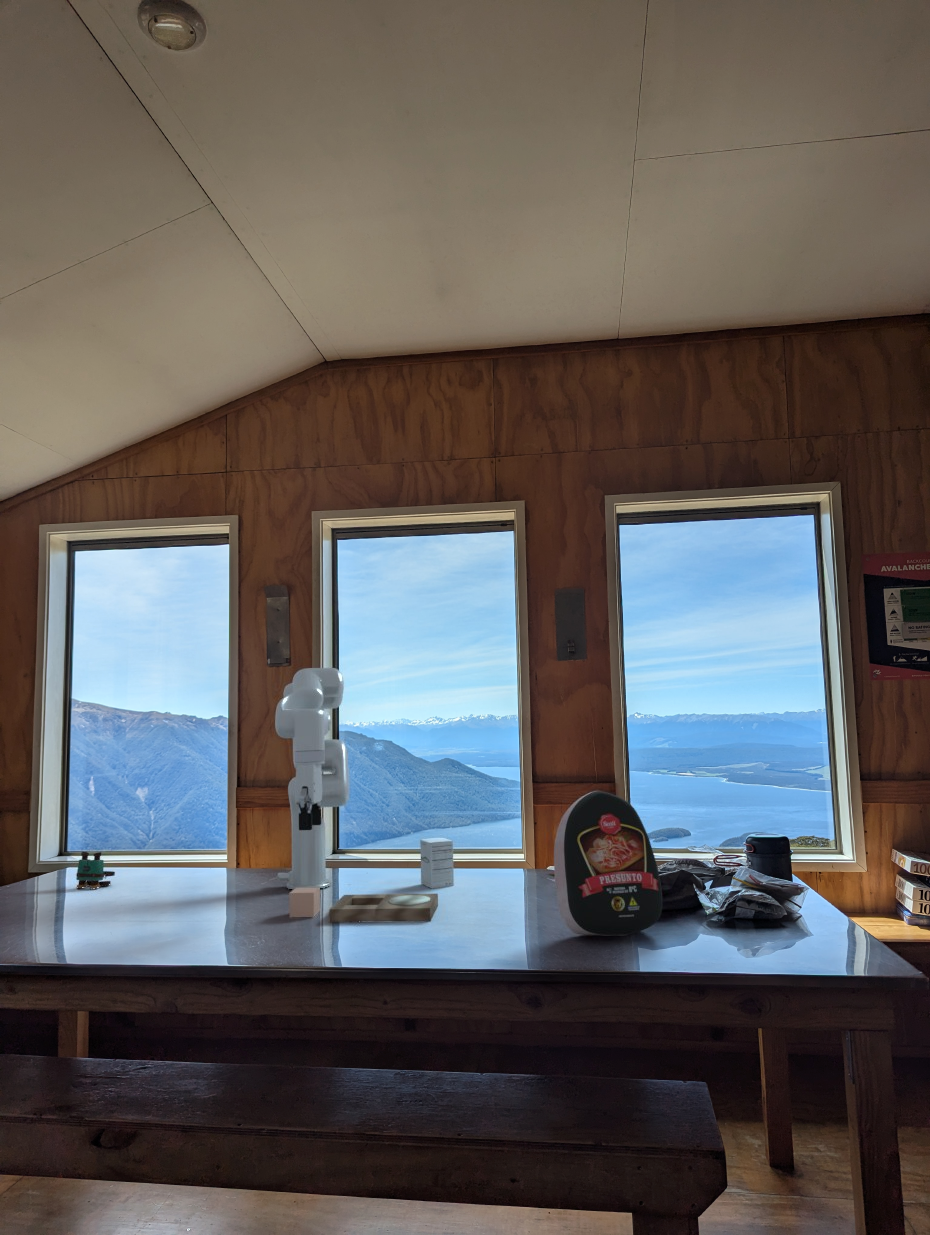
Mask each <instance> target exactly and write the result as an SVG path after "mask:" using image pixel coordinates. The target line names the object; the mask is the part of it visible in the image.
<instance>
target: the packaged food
mask: <svg viewBox="0 0 930 1235" xmlns="http://www.w3.org/2000/svg"><path fill="white" fill-rule="evenodd" d="M553 862H554V863H553V865H554V866H553V868H554V884H555V892H556V899H557V900H556V901H557V906H558V910H559V915H560V918H561V919H562V922H563V923H564V925H565V926H566V927H567V928H568V929H569V930H570V931H571V932H572V933H574V934H576V935H581V936H606V937H607V936H608V937H609V936H623V937H624V936H629V935H632V934H635V933H638V932H641V931H644V930H646V929H648V928H650V927H652V926H654V925H655V924H656V923H657V922H658V920H659V919H660V918H661V915H662V913H663V912H662V911H663V891H662V890H663V889H662V884H661V878H660V877H661V876H660V873H659V869H658V864H657V859H656V857H655V854H654V851H653V847H652V844H651V841H650V839H649V835H648V832H647V830H646V828H645V826H644V824H643V821H642V820H641V818H640V815H639V814H638V812H637V810H636V809H635V808H634V806H632V804H630V802H628V801H627V800H625V799H623V797H620V796H617V795H615V794H613V793H609V792H605V791H601V790H594V791H591V792H589V793H586V794H584V795H583V796H580V797H579V798H578V799H577V800H575V801H574V802H573V803H572V804H571V805H570V806H569V807H568V809H567V810H566V811H565V812H564V814H563V815H562V817H561V820H560V822H559V824H558V827H557V829H556V835H555V839H554V848H553Z"/></svg>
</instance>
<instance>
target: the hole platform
mask: <svg viewBox="0 0 930 1235" xmlns="http://www.w3.org/2000/svg"><path fill="white" fill-rule="evenodd" d="M438 906H439V894H438V893H386V894H385V893H384V894H383V893H382V894H381V893H380V894H378V893H377V894H375V893H374V894H373V893H372V894H343V895H342V896H341V897H340V898H339V899H338V900H337V901H336V902H335V903H334V904H333V905H332V906H331V907H330V908H329V910H328V913H329V917H328V918H329V921H328V922H330V923H363V922H362V921H414V922H431V921H432V919H433V917H434V916H435V913H436V911H437V909H438ZM359 921H360V922H359Z"/></svg>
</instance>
